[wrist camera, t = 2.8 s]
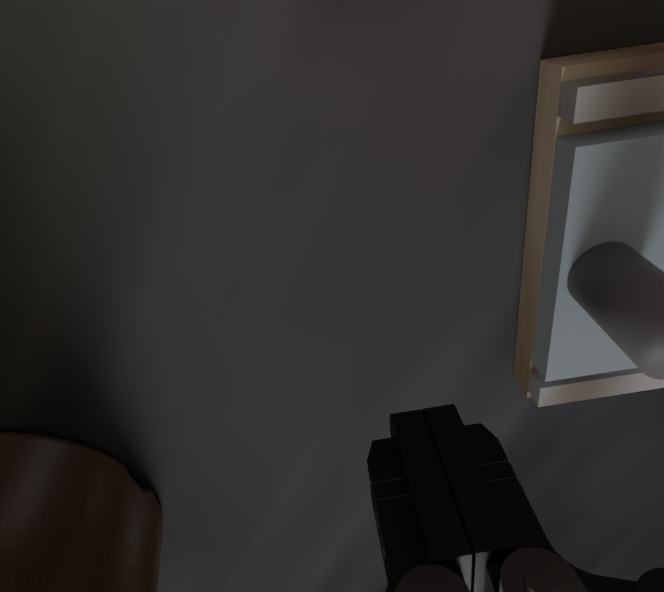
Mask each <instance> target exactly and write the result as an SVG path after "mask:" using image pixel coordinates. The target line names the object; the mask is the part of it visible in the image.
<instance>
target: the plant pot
mask: <svg viewBox="0 0 664 592" xmlns="http://www.w3.org/2000/svg"><path fill="white" fill-rule="evenodd" d="M162 532H163V522H162V512H161V507H160V505H159V503H158V501H157V499H156V497H155V495H154V493H153V492H152V490H150V489H147V488H146V489H142V488H140V487H139V486H138V484H137V483H136V482H135V481H134V480H133V478H132V477H131V476H130V475H129V473H128V471H127V469H126V467H125V466H124V464H122V463H121V462H119V461H117V460H116V459H114V458H112V457H111V456H108V455H106V454H104V453H101V452H99V451H97V450H95V449H92V448H90V447H87V446H84V445H81V444H78V443H75V442H71V441H67V440H64V439H60V438H54V437H49V436H43V435H36V434H27V433H12V432H3V433H0V592H157V586H158V574H159V563H160V553H161V543H162Z"/></svg>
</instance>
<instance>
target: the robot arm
mask: <svg viewBox="0 0 664 592" xmlns="http://www.w3.org/2000/svg"><path fill="white" fill-rule="evenodd" d="M390 430H391V438H387V439H380V440H374V441H372V444H371V448H370V451H369V455H368V459H367V464H368V472H369V481H370V489H371V498H372V505H373V510H374V515H375V520H376V525H377V530H378V535H379V540H380V546H381V551H382V556H383V561H384V566H385V571H386V576H387V582H388V587H387V589H386V592H664V568H655V569H651V570H649V571H647V572H645V573H644V574H643V575H642V576H641V577H640V578H639V580H638V582H636V581H630V580H624V579H617V578H611V577H605V576H599V575H595V574H591V573H588V572H585V571H582V570H580V569H578V568H576V567H575V566H573V565H571V564H570V563H568V562H567V561H566V560H564V559H563V558H562V557H561V556H560V555H559V554H558V553H557V552H556V551H555V550H554V548H553V547H552V546H551V544H550V543H549V541H548V539H547V537H546V535H545V533H544V531H543V529H542V527H541V525H540V523H539V521H538V519H537V517H536V515H535V513H534V511H533V509H532V507H531V505H530V503H529V501H528V499H527V497H526V495H525V493H524V491H523V489H522V487H521V485H520V483H519V481H518V479H517V478H516V474H515V472H514V470H513V468H512V466H511V464H510V462H508V458H507V456H506V454H505V452H504V450H503V448H502V446H501V444H500V442H499V440H498V438H496V437H495V436H494V435H493V434H492V433H491V432H490V431H489V430H488V429H487V428H485V427H484V426H483V425H482V424H481V423H479V424H473V425H466V426H464V425H463V423H462V420H461V418H460V416H459V413H458V411H457V409H456V407H455V406H454V405H453V404H450V405H444V406H438V407H431V408H425V409H422V411H421V410H413V411H407V412H401V413H395V414H390Z"/></svg>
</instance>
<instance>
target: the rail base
mask: <svg viewBox="0 0 664 592" xmlns="http://www.w3.org/2000/svg"><path fill="white" fill-rule="evenodd" d="M660 121H664V42H661V43H654V44H647V45H640V46H633V47H626V48H619V49H612V50H605V51H598V52H591V53H584V54H577V55H570V56H563V57H556V58H549V59H542V60H540V70H539V81H538V93H537V104H536V116H535V128H534V139H533V151H532V162H531V174H530V185H529V197H528V209H527V220H526V232H525V243H524V255H523V267H522V278H521V290H520V301H519V313H518V325H517V336H516V348H515V359H514V371H513V375H514V377H515V378H516V380H517V382H518V383H519V385H520V387H521V388H522V390H523V392H524V393H525V395H526V397H532V398H533V400H534V401H535V403H536V405H537V406H538V407H542V406H548V405H555V404H561V403H567V402H574V401H580V400H587V399H593V398H600V397H606V396H612V395H619V394H625V393H632V392H638V391H644V390H651V389H657V388H664V380H660V379H654V378H651V377H648V376H647V375H645V374H644V373H643V372H642V371H641V370H640V369H639V368H632V369H625V370H619V371H613V372H606V373H600V374H593V375H587V376H580V377H574V378H567V379H561V380H555V381H548V382H545V381H544V379H543V378H542V376H541V375H540V373H539V372H538V370H537V369H536V367H535V366H534V364H533V363H532V358H533V349H534V340H535V331H536V321H537V312H538V303H539V294H540V285H541V276H542V267H543V257H544V248H545V239H546V230H547V221H548V212H549V203H550V194H551V184H552V175H553V166H554V157H555V148H556V139H557V137H558V136H564V135H571V134H578V133H585V132H592V131H599V130H605V129H612V128H619V127H626V126H633V125H640V124H646V123H653V122H660Z"/></svg>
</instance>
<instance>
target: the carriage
mask: <svg viewBox="0 0 664 592" xmlns="http://www.w3.org/2000/svg"><path fill="white" fill-rule="evenodd" d="M532 363H533V364H534V366H535V367H536V369H537V370H538V372H539V373H540V375H541V376H542V378H543V379H544V381H545V382H548V381H555V380H561V379H567V378H574V377H580V376H587V375H593V374H600V373H606V372H613V371H619V370H625V369H632V368H639V369H640V370H641V371H642V372H643V373H644V374H645V375H647V376H648V377H651V378H654V379H660V380H664V121H660V122H653V123H646V124H640V125H633V126H626V127H619V128H612V129H605V130H599V131H592V132H585V133H578V134H571V135H564V136H558V137H557V139H556V148H555V157H554V166H553V175H552V184H551V194H550V203H549V212H548V221H547V230H546V239H545V248H544V257H543V267H542V276H541V285H540V294H539V303H538V312H537V321H536V331H535V340H534V349H533V358H532Z"/></svg>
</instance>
